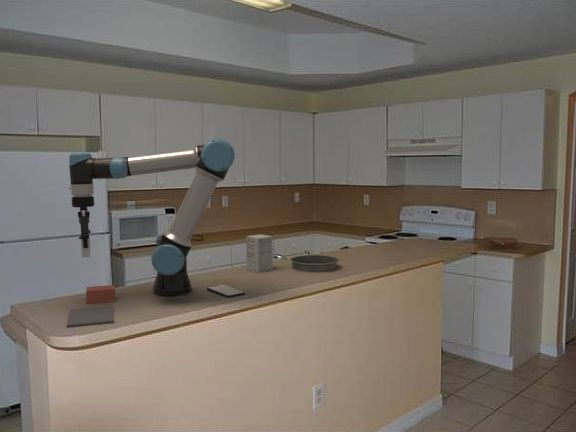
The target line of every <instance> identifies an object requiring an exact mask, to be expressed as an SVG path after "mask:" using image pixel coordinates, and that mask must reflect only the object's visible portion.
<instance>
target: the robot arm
mask: <svg viewBox="0 0 576 432" xmlns="http://www.w3.org/2000/svg"><path fill="white" fill-rule="evenodd" d="M235 154H236V153H235V150H234V148H233V146H232V144H231V143H230V142H228V141H227V140H226V139H223V138H213V139H212V138H211V139H210V140H208V141H207V142H206V143H205V144H200V145H195V146H194V148H190V149H189V148H188V149H180V150H173V151H172V150H171V151H163V152H156V153H149V154H147V153H146V154H141V155H130V156H123V157H96V158H95V157H93V156H92V154H91V153H90V152H72V153H70V154H69V157H68V158H69V163H68V164H69V165H68V168H69V177H70V178H69V179H70V187H68V190H70V191H71V193H70V194H71V196H72V197H71V206H72V208H79V211H78V212H77V217H78V223H79V224H80V236H78V239H79V240H80V242H81V243H80V244H81V245H80V248H81V258H91V241H90V234H91V233H92V231H91V230H90V228H89V223H90V216H91V215H90V214H91V213H90V211H89V210H88V208H90V207H94V206H95V197H94V196H93V195H94V194H95V191H94V189H95V187H94V180H99V179H100V180H101V179H102V180H109V179H110V180H111V179H115V180H120V179H125V178H127V177H132V176H133V177H135V176H140V175H149V174H156V173H157V174H158V173H165V172H174V171H181V170H191V169H195V171H196V173H195V175H194V177H193V179H192V181H191V184H190V186H189V188H188V190H187V192H186V193H185V197H184V198H183V200H182V202H181V205H180V206H179V209H178V210H177V212H176V215H175V217H174V219H173V221H172V223H171V225H170V227H169V230H167V231H164V232H163V233H162V234H161V235H157V237H156V241H155V243H156V247H155V248H154V250H152V253H151V260H150V261H151V264H152V267H153V269H154V270H155V271H156V275H155V276H156V277H155V279H154V283H153V286H152V294H154V295H157V296H163V297H164V296H165V297H173V296H176V297H177V296H183V295H186V294H189V293H191V292H192V283H191V280H190V277H189V275H188V269H187V268H188V267H187V265H188V263H187V261H188V260H187V257H188V254H190V250H191V248H192V246H193V245H192V242H191V240H192V237H193V235H194V233H195V230H196V229H197V227H198V225H199V223H200V220H201V218H202V216H203V214H204V212H205V210H206V208H207V206H208V204H209V202H210V199H211V198H212V196H213V193H214V191H215V190H216V187H217V185H218V183H220V182H223V181H224V180H225V178H226V175H227V174H228V173H229V170H230V167H231V166H232V165H233V163H234V161H235V157H236V156H235Z"/></svg>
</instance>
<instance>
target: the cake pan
mask: <svg viewBox="0 0 576 432" xmlns="http://www.w3.org/2000/svg"><path fill="white" fill-rule="evenodd" d="M289 261H290V262H291V264H292V268H293V269H294V270H297V271H301V272H307V273H324V272H331V271H332V272H333V271H334V270H336V268H337V263H339V262H340V260H339V258H338V257H334V256H331V255H330V256H329V255H325V254H323V255H322V254H306V255H298V256H293V257H291V258H289Z"/></svg>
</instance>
